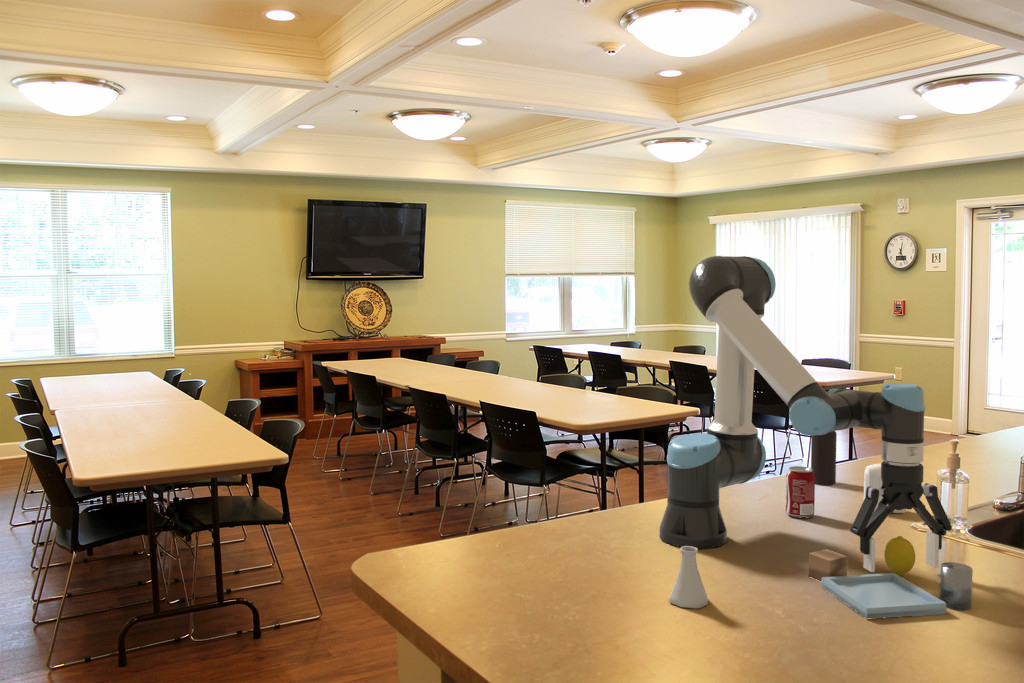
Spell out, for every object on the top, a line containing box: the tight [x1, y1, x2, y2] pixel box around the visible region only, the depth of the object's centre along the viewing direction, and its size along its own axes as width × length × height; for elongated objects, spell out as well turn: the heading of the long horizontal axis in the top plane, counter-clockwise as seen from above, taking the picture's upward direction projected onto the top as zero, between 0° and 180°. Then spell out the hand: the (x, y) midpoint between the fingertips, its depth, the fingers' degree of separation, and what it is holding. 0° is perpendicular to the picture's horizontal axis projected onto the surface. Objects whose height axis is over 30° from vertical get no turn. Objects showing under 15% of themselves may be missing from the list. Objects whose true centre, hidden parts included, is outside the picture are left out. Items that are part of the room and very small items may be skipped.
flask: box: [668, 546, 709, 609], centre depth 146 cm, size 7×7×10 cm
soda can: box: [785, 465, 816, 519], centre depth 200 cm, size 7×7×12 cm
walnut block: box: [808, 548, 848, 582], centre depth 157 cm, size 5×5×5 cm
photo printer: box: [862, 462, 907, 514], centre depth 203 cm, size 10×4×12 cm, turn 84°
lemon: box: [884, 535, 916, 577], centre depth 159 cm, size 6×6×8 cm
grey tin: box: [939, 561, 974, 611], centre depth 144 cm, size 5×5×7 cm
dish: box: [821, 572, 947, 620], centre depth 146 cm, size 15×15×2 cm
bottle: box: [810, 431, 837, 486], centre depth 233 cm, size 7×7×20 cm
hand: (900, 567), depth 158 cm, fingers open, 13 cm apart
